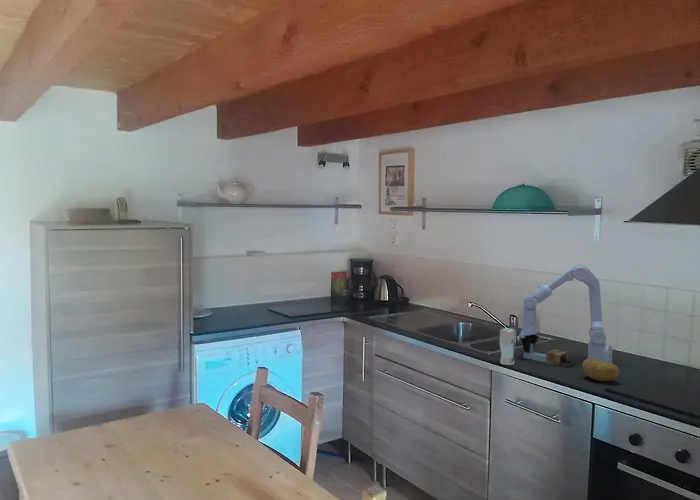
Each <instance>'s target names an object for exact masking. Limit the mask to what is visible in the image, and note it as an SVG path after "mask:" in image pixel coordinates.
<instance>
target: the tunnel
mask: <svg viewBox="0 0 700 500" xmlns="http://www.w3.org/2000/svg"><path fill="white" fill-rule="evenodd" d="M545 354H546V362H545V364H546V365H550V366H555V367H561V366H560V363H564V364H566V363H567V360H569V355H568V354H569V352H568V351H565V350H559V349H552V350H550V351H547V352H546V353H545Z"/></svg>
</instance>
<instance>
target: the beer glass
mask: <svg viewBox="0 0 700 500" xmlns="http://www.w3.org/2000/svg"><path fill="white" fill-rule="evenodd" d="M516 331H517V330H516V329H515V328H510V327H503V328H500V330H499V347H500V354H501V355H500V362H499V363H500V364H501V365H505V366H514V365H515V357H514V355H515V349H516V346H517V345H516V344H517V332H516Z"/></svg>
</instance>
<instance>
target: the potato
mask: <svg viewBox="0 0 700 500" xmlns="http://www.w3.org/2000/svg"><path fill="white" fill-rule="evenodd" d="M581 366H582V368H581V369H582V370H583V372H584V374H585V375H587V376H588V377H589V378H590V379H592V380H593V381H597V382H610V381H612V380H614V379H615V378H617V377H618V376H619V374H620V368H619V367H618V365H616V364H614V363H613V364H611V363H607V362H604V361H600V360H595V359H588V358H586V359H584V360H583V362H582V363H581Z"/></svg>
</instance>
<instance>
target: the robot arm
mask: <svg viewBox="0 0 700 500" xmlns="http://www.w3.org/2000/svg"><path fill="white" fill-rule="evenodd" d="M574 279H575V280H577V281H578V282H581V283H583V284H585V285H586V286H587V287H588V298H589V299H588V300H589V314H590V329H589V330H588V335H589V337H590V339H589V340H588V343H587V344H588V345H587V359H595V360H600V361H604V362H607V363H611V364H614V363H613V347H612V346H611V345H609V344H607V342H606V340H607V335H606V333H605V331H604V325H603V315H602V300H601V283H600V281H599V279H598V278H597V277H596V275H595V274H594V273H593V272H592V270H590V269H589V268H588V267H587V266H585V265H583V264H576V265H574V266H573V268H572V267H571V268H569V269H567V270H566V271H564V272H563V273H561V274H560V275H559V276H558V277H557V278H555V279H554V280H553V281H551V282H550V283H549V284H547V285H546V284H542V285H539V286H537V289H535V290H534V291H533V292H529V295H526V296H525V297H524V299H523V311H522V315H523V316H522V330H520V333H519V335H518V337H519V339H520V341H521V343H522V347H523V353H524V352H529V351H530V345H531V343H533V344H534V348H535V346H536V343H537V341H538V339H539V335H538V334H540V328H539V329H537V305H538V304H541V303H542V302H544V301H545V300H546V299H548V298H549V297H550V296H552V293H553V291H554V290H556V289H557V288H559V287H560V286H562V285H564V284H565V283H566V282H572V281H575V280H574Z"/></svg>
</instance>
